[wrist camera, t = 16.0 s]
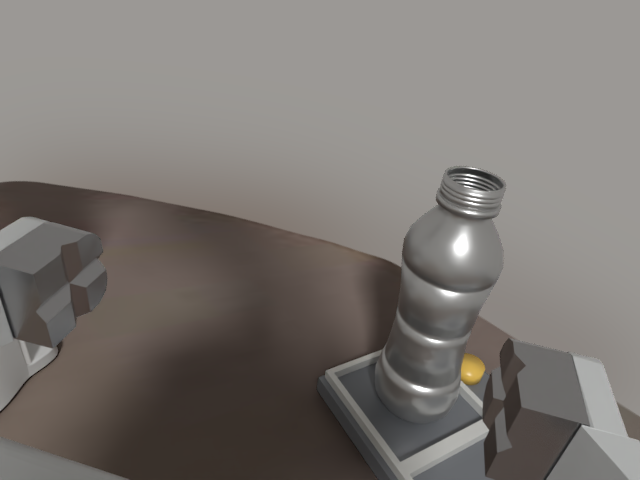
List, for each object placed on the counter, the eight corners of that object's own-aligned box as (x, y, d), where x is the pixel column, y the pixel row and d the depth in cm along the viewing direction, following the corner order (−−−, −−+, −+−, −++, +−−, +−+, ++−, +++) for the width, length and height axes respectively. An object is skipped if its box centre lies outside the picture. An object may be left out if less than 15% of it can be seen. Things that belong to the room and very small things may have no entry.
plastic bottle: (426, 451, 36) (510, 217, 25) (353, 399, 39) (399, 173, 28) (464, 400, 40) (548, 183, 29) (395, 358, 43) (449, 149, 33)
